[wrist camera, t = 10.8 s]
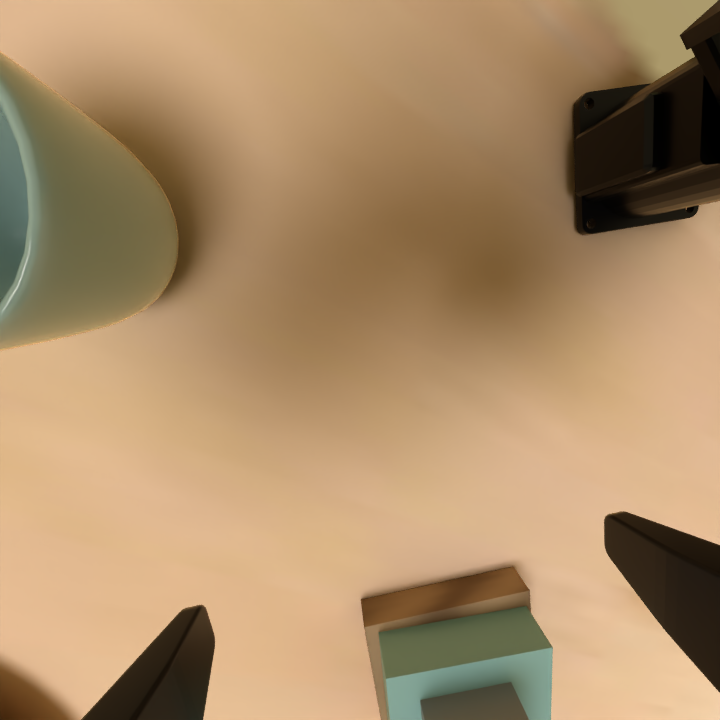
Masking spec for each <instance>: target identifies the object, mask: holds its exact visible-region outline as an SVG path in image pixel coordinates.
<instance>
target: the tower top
mask: <svg viewBox="0 0 720 720" xmlns="http://www.w3.org/2000/svg"><path fill="white" fill-rule="evenodd" d="M378 634H379V643H380V652H381V662H382V671H383V681H384V690H385V700H386V709H387V718H388V720H422V716H421V705H420V700H423V699H428V698H433V697H438V696H443V695H448V694H453V693H458V692H463V691H468V690H473V689H478V688H483V687H488V686H493V685H498V684H503V683H508V682H511V683H512V685H513V687H514V689H515V691H516V693H517V695H518V697H519V700H520V702H521V704H522V706H523V708H524V710H525V712H526V714H527V716H528V718H529V720H551V693H552V652H553V647H552V646H551V644H550V643H549V641H548V639H547V638H546V636H545V635H544V633H543V632H542V630H541V628H540V627H539V625H538V624H537V622H536V621H535V619H534V617H533V616H532V614H531V613H530V611H529V609H528V608H527V606H524V607H518V608H512V609H507V610H501V611H495V612H490V613H484V614H479V615H473V616H467V617H462V618H456V619H450V620H445V621H439V622H434V623H428V624H422V625H417V626H411V627H405V628H400V629H394V630H389V631H383V632H378Z"/></svg>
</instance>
